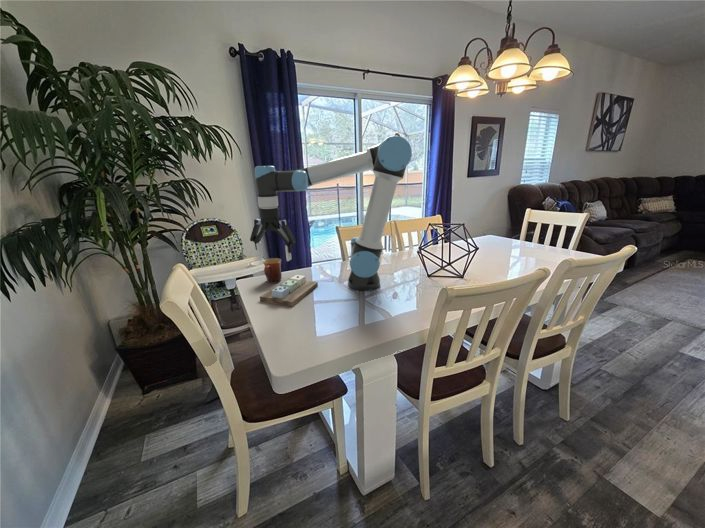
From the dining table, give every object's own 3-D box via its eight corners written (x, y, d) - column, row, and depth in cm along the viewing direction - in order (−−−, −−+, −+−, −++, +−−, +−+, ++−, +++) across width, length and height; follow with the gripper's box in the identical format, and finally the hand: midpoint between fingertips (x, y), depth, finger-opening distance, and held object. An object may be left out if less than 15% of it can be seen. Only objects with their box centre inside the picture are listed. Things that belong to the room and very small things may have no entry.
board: (317, 286, 136) (317, 282, 135) (292, 306, 116) (292, 302, 116) (288, 281, 141) (288, 278, 140) (260, 300, 122) (259, 296, 121)
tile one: (305, 282, 136) (305, 275, 134) (300, 286, 131) (299, 279, 130) (296, 281, 137) (296, 274, 136) (290, 284, 133) (290, 277, 132)
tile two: (298, 287, 129) (297, 280, 128) (291, 292, 125) (291, 284, 124) (288, 286, 131) (287, 279, 130) (282, 290, 127) (281, 283, 126)
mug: (270, 276, 149) (268, 257, 145) (286, 277, 147) (284, 258, 144) (258, 285, 137) (256, 265, 134) (275, 286, 136) (273, 266, 132)
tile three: (289, 294, 123) (288, 286, 122) (282, 299, 119) (281, 291, 118) (279, 292, 125) (278, 285, 124) (272, 297, 121) (271, 289, 119)
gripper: (301, 206, 112) (305, 258, 119) (248, 205, 119) (255, 254, 126) (292, 209, 105) (296, 264, 112) (236, 207, 113) (243, 259, 120)
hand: (274, 258), depth 119 cm, fingers open, 13 cm apart
